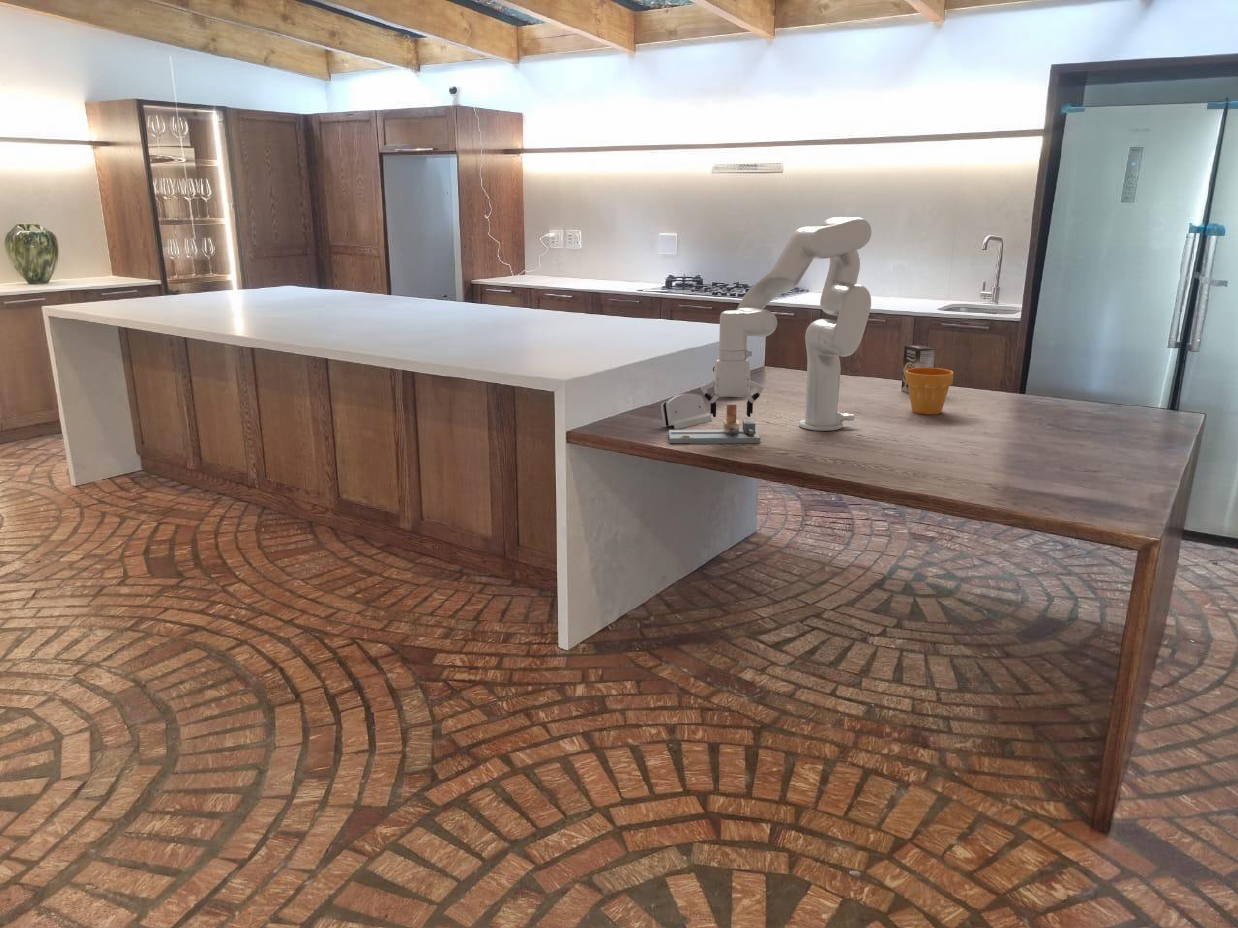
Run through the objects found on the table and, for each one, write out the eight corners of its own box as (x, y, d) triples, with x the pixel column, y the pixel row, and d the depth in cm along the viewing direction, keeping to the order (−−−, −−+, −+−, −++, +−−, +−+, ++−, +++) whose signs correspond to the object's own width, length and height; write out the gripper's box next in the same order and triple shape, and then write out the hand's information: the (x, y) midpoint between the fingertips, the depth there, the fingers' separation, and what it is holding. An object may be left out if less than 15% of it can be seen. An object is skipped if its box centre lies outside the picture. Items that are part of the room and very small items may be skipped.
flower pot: (904, 415, 277) (907, 374, 274) (901, 406, 291) (904, 366, 287) (952, 417, 274) (956, 375, 271) (947, 408, 287) (951, 368, 284)
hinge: (675, 429, 264) (667, 396, 263) (664, 432, 267) (656, 400, 267) (713, 420, 274) (705, 388, 274) (702, 423, 278) (694, 392, 278)
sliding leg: (737, 429, 255) (737, 402, 253) (740, 436, 247) (741, 408, 245) (723, 429, 255) (723, 402, 253) (725, 436, 247) (726, 409, 245)
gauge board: (755, 434, 257) (756, 418, 255) (760, 443, 247) (760, 426, 246) (668, 434, 257) (668, 419, 256) (670, 443, 247) (670, 427, 246)
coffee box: (900, 390, 315) (903, 345, 311) (915, 389, 317) (919, 344, 313) (915, 395, 307) (919, 348, 303) (931, 394, 309) (935, 347, 304)
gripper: (762, 353, 250) (760, 413, 255) (700, 354, 250) (699, 413, 255) (765, 357, 243) (763, 418, 248) (702, 358, 243) (701, 419, 248)
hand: (731, 416), depth 251 cm, fingers open, 9 cm apart
